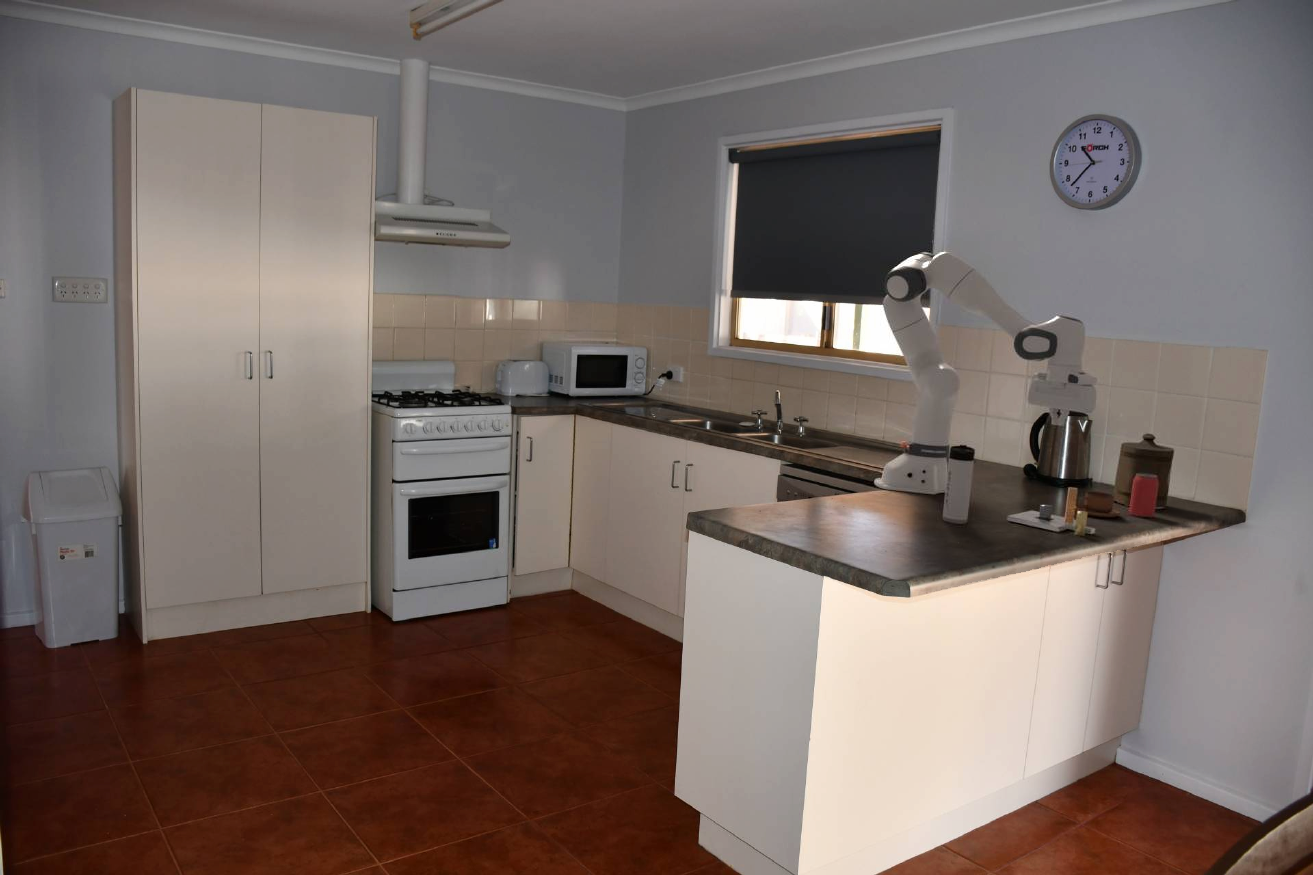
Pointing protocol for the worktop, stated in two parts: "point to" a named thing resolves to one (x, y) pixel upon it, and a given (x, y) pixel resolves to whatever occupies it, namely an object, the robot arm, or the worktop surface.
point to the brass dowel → (1081, 523)
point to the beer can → (1144, 495)
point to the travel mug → (958, 484)
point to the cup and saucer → (1098, 505)
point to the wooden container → (1143, 468)
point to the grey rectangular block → (1045, 512)
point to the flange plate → (1053, 517)
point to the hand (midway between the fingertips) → (1057, 424)
